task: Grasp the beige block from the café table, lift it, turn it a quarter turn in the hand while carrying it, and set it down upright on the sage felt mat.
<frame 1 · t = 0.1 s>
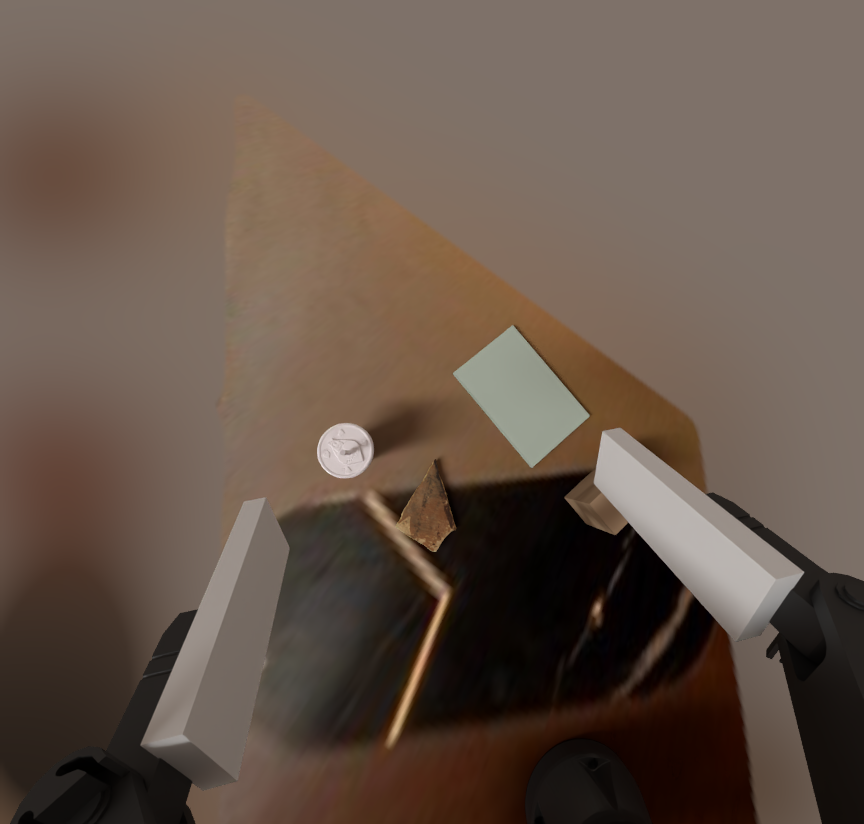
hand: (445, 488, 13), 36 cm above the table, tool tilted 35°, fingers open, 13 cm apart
smoothie: (356, 451, 49), on the table
beige block: (598, 488, 51), on the table
shard: (420, 506, 49), on the table
felt mat: (520, 395, 51), on the table
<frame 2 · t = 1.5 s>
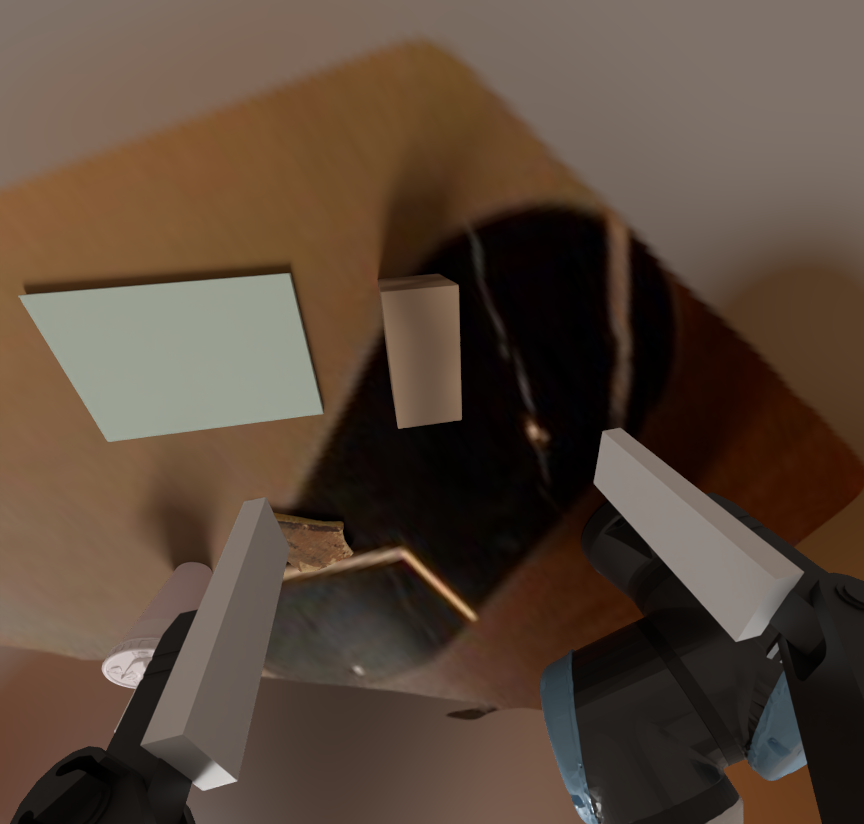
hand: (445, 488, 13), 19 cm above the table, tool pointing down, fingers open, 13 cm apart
smoothie: (194, 571, 38), on the table
beige block: (413, 336, 30), on the table
shard: (300, 537, 39), on the table
felt mat: (195, 360, 28), on the table
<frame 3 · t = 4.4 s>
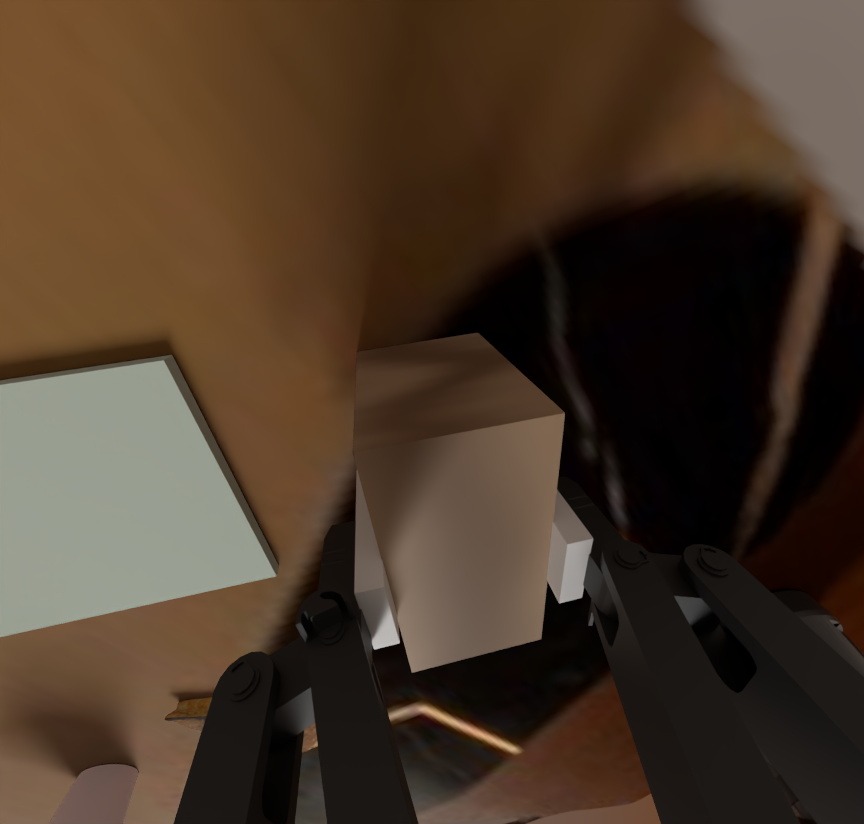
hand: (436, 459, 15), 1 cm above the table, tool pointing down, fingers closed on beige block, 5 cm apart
smoothie: (110, 771, 25), on the table
beige block: (431, 442, 16), on the table, touching gripper
shard: (267, 709, 26), on the table
felt mat: (14, 522, 14), on the table
when the fingers open (3 cm above the table, at t = 11.7 s): beige block drops 1 cm, resting on felt mat.
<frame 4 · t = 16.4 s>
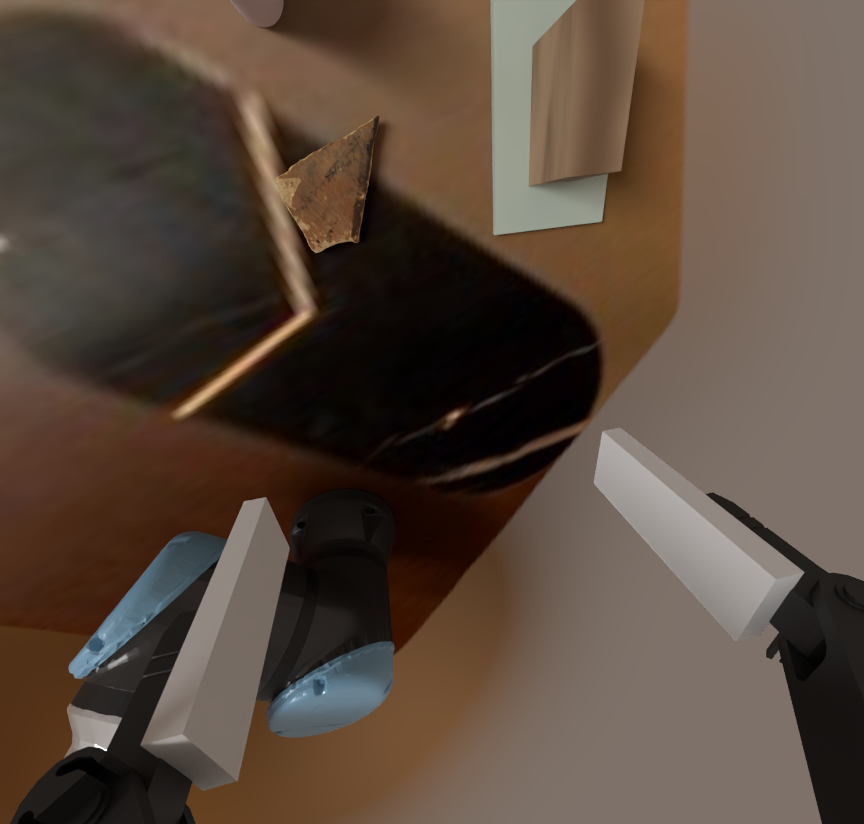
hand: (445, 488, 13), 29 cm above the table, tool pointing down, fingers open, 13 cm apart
beige block: (555, 119, 32), point 1 cm above the table, touching felt mat
shard: (324, 182, 32), on the table
felt mat: (553, 120, 32), on the table
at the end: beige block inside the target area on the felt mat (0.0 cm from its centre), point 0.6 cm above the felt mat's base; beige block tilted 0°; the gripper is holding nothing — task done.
